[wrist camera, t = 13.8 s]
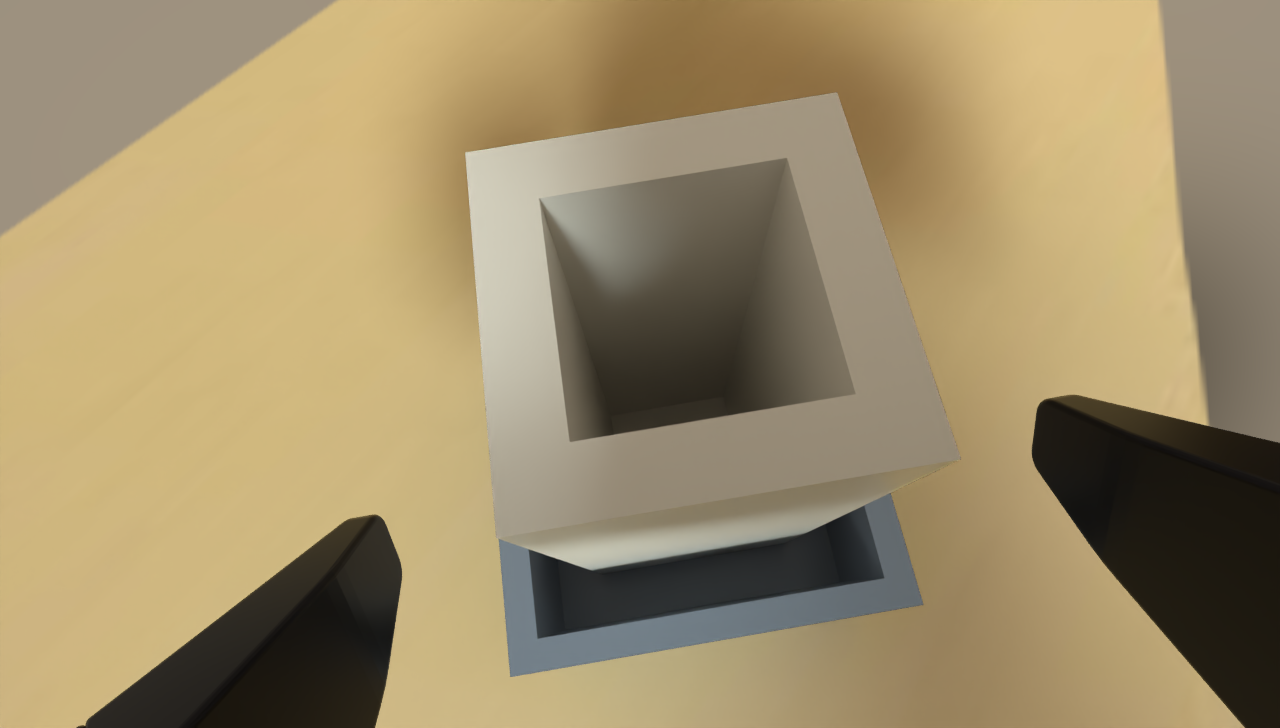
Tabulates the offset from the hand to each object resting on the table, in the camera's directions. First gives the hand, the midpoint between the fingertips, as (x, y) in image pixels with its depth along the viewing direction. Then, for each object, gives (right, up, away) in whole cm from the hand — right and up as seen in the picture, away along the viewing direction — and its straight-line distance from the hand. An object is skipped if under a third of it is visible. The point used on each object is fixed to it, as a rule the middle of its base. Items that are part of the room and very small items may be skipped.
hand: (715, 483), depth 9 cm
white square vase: (0, -2, +12) cm, 12 cm away
